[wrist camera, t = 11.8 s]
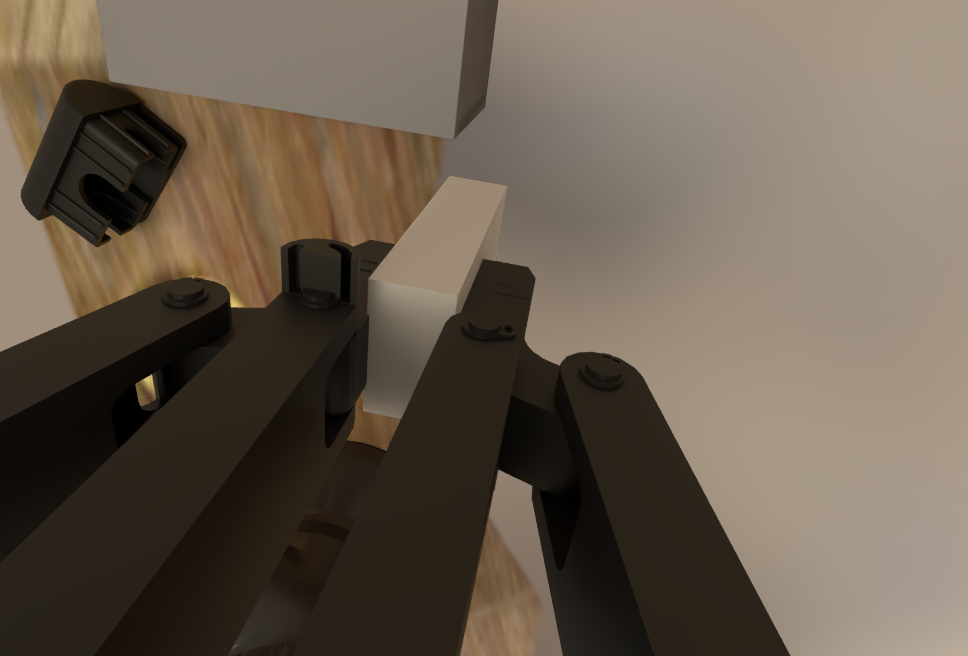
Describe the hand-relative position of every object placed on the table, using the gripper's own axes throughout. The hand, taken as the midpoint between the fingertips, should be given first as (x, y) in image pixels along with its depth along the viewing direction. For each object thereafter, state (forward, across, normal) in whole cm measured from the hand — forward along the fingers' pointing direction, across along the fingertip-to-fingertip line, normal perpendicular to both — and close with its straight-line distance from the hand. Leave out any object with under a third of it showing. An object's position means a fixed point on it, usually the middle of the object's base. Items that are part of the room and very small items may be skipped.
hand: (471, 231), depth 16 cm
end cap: (+30, -32, -10) cm, 45 cm away
